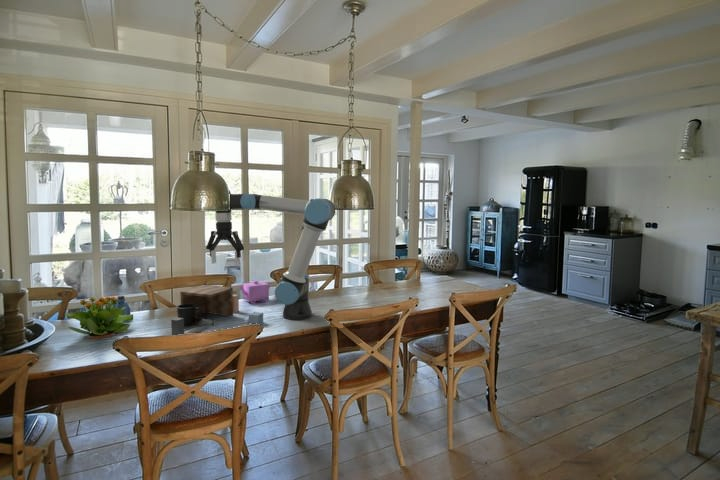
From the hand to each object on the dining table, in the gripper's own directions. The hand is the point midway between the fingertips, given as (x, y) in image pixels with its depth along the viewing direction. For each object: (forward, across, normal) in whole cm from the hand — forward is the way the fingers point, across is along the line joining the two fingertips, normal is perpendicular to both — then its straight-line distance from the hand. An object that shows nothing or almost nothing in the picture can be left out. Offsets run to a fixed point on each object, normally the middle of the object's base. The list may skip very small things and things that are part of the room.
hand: (225, 263), depth 209 cm
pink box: (+29, +7, -37) cm, 47 cm away
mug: (+29, +12, +13) cm, 34 cm away
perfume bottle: (+28, +51, +16) cm, 60 cm away
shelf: (+29, +12, 0) cm, 31 cm away
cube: (+29, -16, 0) cm, 34 cm away
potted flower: (+28, +39, +39) cm, 62 cm away
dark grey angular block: (+29, +8, +21) cm, 36 cm away
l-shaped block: (+29, +12, -15) cm, 35 cm away
